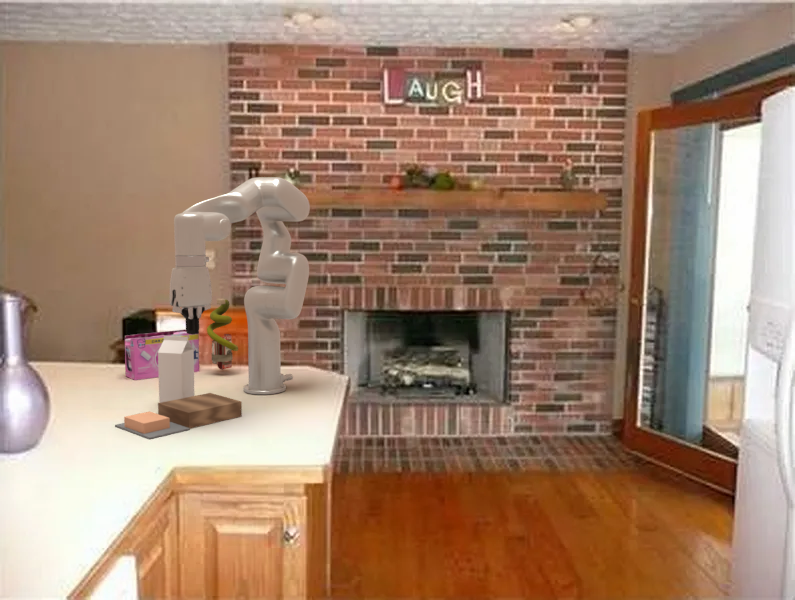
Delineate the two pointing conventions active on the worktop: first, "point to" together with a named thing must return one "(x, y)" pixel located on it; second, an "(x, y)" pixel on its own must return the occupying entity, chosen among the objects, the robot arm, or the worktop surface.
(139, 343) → the gum box
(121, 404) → the worktop surface
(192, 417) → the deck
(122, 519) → the worktop surface
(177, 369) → the milk carton
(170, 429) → the mat
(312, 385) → the worktop surface
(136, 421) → the peach flat block
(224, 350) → the prank snake can
